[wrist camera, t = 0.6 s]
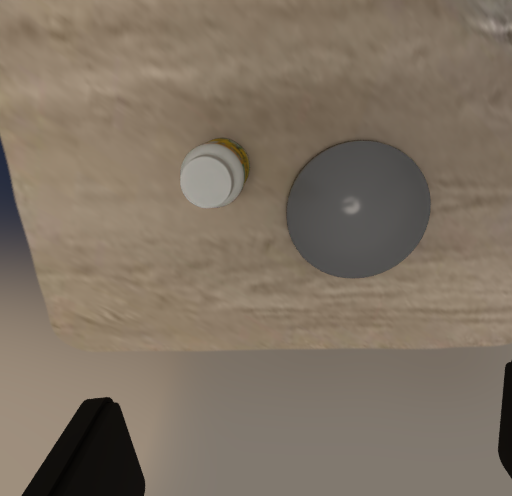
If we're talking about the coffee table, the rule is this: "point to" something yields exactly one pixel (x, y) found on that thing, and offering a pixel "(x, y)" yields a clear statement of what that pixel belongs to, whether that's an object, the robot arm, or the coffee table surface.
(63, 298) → the coffee table surface
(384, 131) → the coffee table surface
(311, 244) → the plate
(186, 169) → the supplement bottle
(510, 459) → the robot arm
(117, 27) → the coffee table surface
